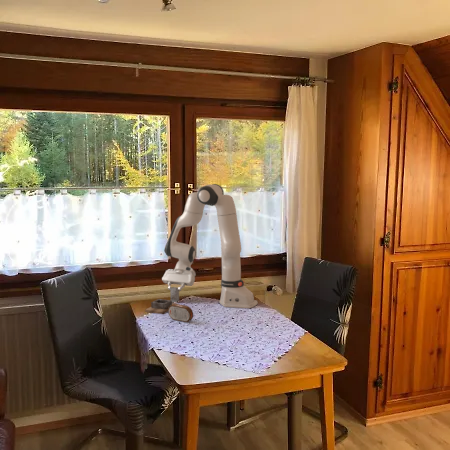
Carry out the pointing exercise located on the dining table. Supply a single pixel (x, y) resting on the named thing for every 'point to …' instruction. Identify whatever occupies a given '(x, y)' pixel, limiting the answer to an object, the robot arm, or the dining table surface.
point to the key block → (174, 294)
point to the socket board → (159, 306)
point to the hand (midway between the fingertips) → (174, 289)
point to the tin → (180, 312)
